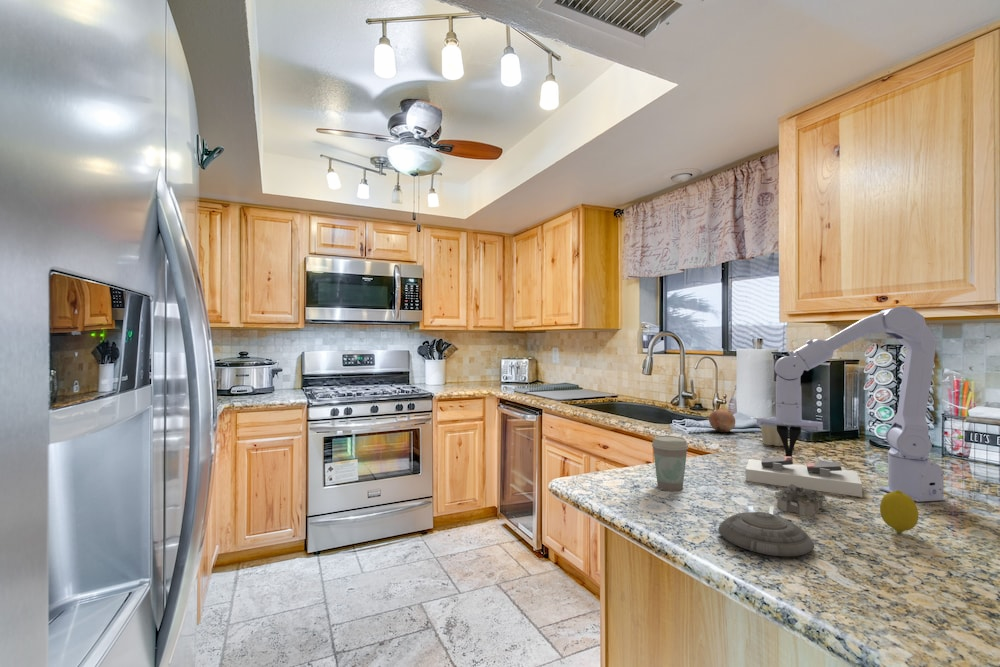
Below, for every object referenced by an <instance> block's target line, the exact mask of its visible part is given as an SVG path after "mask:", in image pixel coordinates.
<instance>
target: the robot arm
mask: <svg viewBox="0 0 1000 667" xmlns="http://www.w3.org/2000/svg"><path fill="white" fill-rule="evenodd" d="M880 333H883V334H886V335H888V336H889V337H892V338H895V339H896V340H897V341H898V342H899V343H900V344H902V346H904V347H905V348H906V349H905V355H904V357H905V358H904V363H903V370H902V378H901V385H900V391H899V392H900V393H899V398H898V404H897V406H898V407H897V412H896V413H895V415H894V416H893V418H892V422H891V425H890V427H889V428H887V430H886V432H885V440H886V442H887V444H888V445H889V446H890V449H889V450H888V451H887V460H888V461H887V464H888V466H887V468H888V469H887V470H888V471H887V472H888V474H887V475H888V477H887V478H888V482H887V483H888V485H887V486H878V489H879V490H881V491H884V492H887V493H890V492H895V491H896V490H900V491H901V492H902V493H904V494H906V495H908V496H909V497H910V498H912V499H913V501H914V502H919V503H920V502H936V501H947V500H948V499H947V497H946V496H945V497H944V495H945V493H944V491H945V490H944V471H943V469H942V467H941V466H940V465H939V464H938V463H937V462H933V461H931V460H930V459H929V454H930V452H931V451H932V449H933V448H932V447H933V445H932V441H931V438H930V436H929V430H930V429H929V425H928V422H927V418H926V416H927V410H928V405H929V396H930V389H931V382H932V376H933V371H934V370H933V369H934V364H935V356H936V350H937V340H936V338H935V337H934V334H933V333H932V331H931V330H930V328H929V327H928V325H927V323H926V319H925V317H924V315H922V314H920V312H918V311H917V310H916V309H914V308H912V307H909V306H903V305H901V306H895V307H892V308H891V307H889V308H884V309H883V310H880V311H879V312H878V313H877V312H876V313H873V314H870V315H869V316H866V317H863V318H862V319H860V320H858V321H856V322H854V323H853V324H850V325H849V326H848V327H845V328H844V329H842V330H841V331H839V332H837V333H835V334H834V335H832V336H831V337H828V338H827V339H825V340H824V339H820V338H815V339H813V340H812V339H809V340H807V341H806V342H805V345H803V346H801V347H799V348H797V349H796V350H794V351H793V350H790V351H788V352H787V353H788V356H782V357H780V358H778V359H777V360H776V361H775V363H774V366H773V369H774V372H775V373H776V376H775V377H776V378H775V383H776V384H775V417H771V418H764V417H765V416H763V417H761V416H760V417H759V416H756V426H758V427H761V425H764V426H776V427H777V432H778V434H779V436H780V438H781V440H782V443H783V448H784V453H785V457H786V456H789V457H792V458H793V452H794V448H795V445H796V442H797V440H798V439H799V437H800V435H801V433H802V429H803V430H816V431H821V432H823V431H824V423H823V421H816V420H815V421H813V420H808V419H807V420H806V419H803V416H802V410H803V409H802V406H803V405H802V398H803V397H802V396H803V395H802V385H801V376H802V375H803V374H804V371H806V372H809V371H810V370H812V369H814V368H816V367H818V366H819V365H821V364H823V363H825V362H827V361H829V360H831V359H832V358H833V356H834V353H835V351H837V350H839V349H840V348H842V347H845V346H846V345H849V344H851V343H852V342H854V341H856V340H859V339H860V338H862V337H864V336H866V335H868V334H870V335H871V334H880ZM780 424H784V425H780Z"/></svg>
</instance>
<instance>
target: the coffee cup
mask: <svg viewBox="0 0 1000 667" xmlns="http://www.w3.org/2000/svg"><path fill="white" fill-rule="evenodd" d="M651 447H652V450H653V458H654V468H655V475H656V482H657V483H656V484H657V487H658V488H659V489H660V490H664V491H671V492H678V491H682V490H683V489H684V479H685V470H686V462H687V453H688V449H689V444H688V443H687V439H686V438H684V437H680V436H676V435H675V436H674V435H657V436H654V437H653V440H652V442H651Z"/></svg>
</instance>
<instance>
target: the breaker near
mask: <svg viewBox="0 0 1000 667" xmlns="http://www.w3.org/2000/svg"><path fill="white" fill-rule="evenodd" d="M806 466H807V470H808V472H814V471H820V468H824V469H830V471H842V470H841V468H842V466H841V462H839V461H833V462H822V463H818V462H806Z"/></svg>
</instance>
